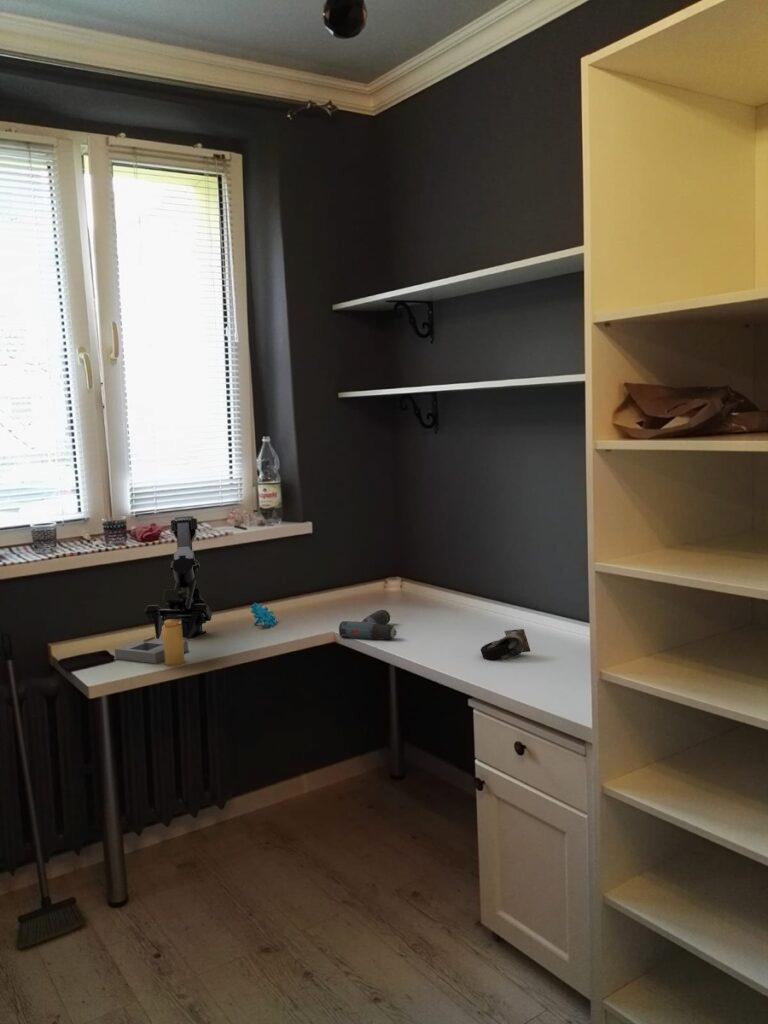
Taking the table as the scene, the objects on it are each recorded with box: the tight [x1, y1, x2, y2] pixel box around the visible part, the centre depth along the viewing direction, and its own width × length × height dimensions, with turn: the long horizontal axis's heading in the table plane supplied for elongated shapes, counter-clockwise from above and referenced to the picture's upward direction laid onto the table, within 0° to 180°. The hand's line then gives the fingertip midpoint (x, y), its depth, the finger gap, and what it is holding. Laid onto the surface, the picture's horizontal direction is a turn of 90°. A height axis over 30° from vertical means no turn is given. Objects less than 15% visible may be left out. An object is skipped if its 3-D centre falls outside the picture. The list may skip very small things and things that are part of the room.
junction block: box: [114, 635, 189, 664], centre depth 261 cm, size 14×16×4 cm
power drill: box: [338, 609, 398, 640], centre depth 273 cm, size 5×19×20 cm
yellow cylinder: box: [161, 618, 186, 666], centre depth 251 cm, size 6×6×12 cm
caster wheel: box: [480, 628, 531, 660], centre depth 239 cm, size 7×11×10 cm
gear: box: [250, 602, 277, 627], centre depth 290 cm, size 11×6×10 cm
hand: (172, 638), depth 250 cm, fingers open, 9 cm apart
